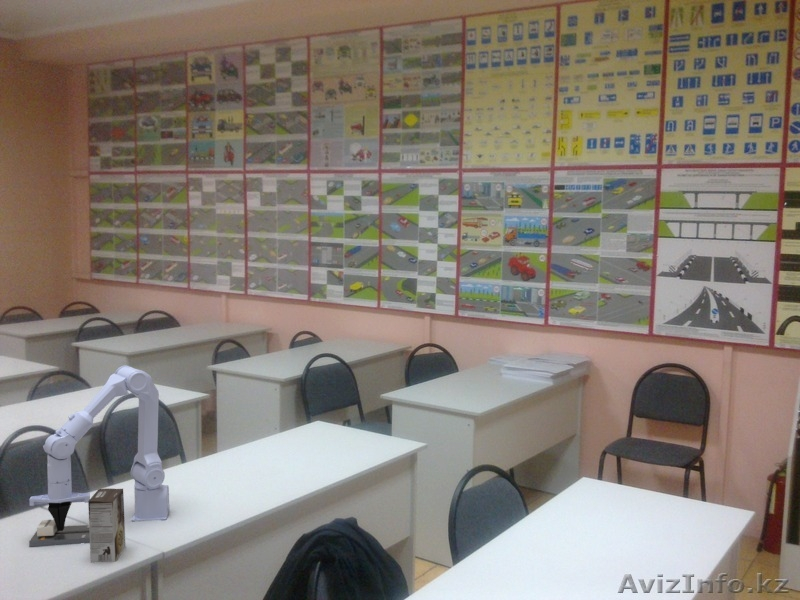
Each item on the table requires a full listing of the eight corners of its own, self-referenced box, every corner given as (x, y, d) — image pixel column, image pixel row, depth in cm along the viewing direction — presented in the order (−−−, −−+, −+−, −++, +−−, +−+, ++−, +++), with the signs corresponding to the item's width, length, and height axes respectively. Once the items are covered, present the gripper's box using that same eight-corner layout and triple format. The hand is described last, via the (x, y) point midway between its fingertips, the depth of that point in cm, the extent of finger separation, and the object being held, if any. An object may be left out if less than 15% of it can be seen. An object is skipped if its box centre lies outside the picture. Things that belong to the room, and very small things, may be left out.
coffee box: (100, 549, 195) (98, 488, 194) (126, 548, 196) (124, 487, 195) (89, 564, 186) (86, 500, 185) (116, 563, 187) (114, 499, 186)
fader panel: (101, 529, 207) (101, 524, 207) (94, 543, 199) (94, 537, 198) (39, 532, 205) (39, 527, 204) (29, 546, 196) (29, 540, 196)
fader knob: (58, 527, 203) (58, 518, 203) (53, 535, 198) (53, 526, 198) (42, 528, 203) (42, 519, 202) (37, 536, 198) (36, 527, 197)
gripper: (91, 473, 205) (92, 521, 207) (33, 476, 202) (35, 525, 203) (86, 482, 198) (87, 532, 200) (26, 485, 195) (28, 536, 196)
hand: (60, 529), depth 201 cm, fingers closed
